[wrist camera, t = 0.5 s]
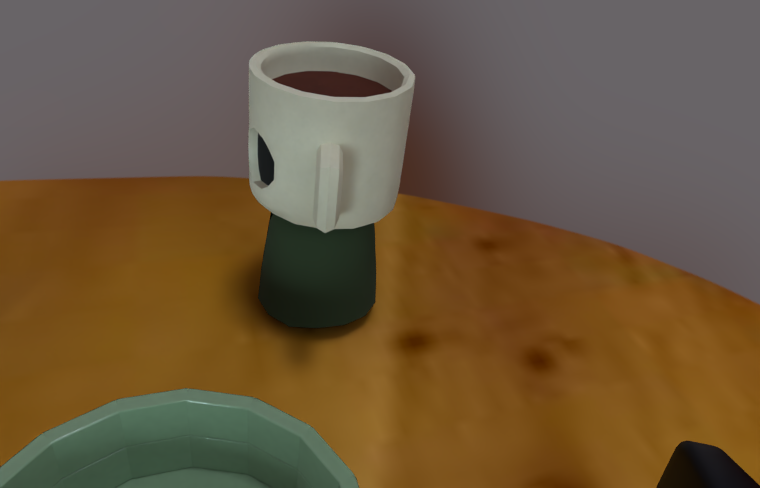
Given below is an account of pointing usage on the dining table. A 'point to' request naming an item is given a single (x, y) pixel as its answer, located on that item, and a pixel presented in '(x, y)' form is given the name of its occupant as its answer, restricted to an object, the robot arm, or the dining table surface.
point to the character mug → (324, 173)
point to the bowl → (179, 447)
